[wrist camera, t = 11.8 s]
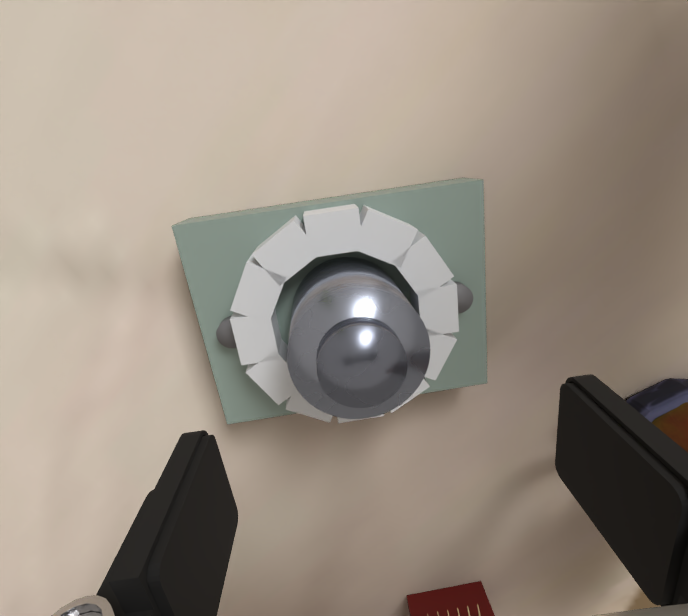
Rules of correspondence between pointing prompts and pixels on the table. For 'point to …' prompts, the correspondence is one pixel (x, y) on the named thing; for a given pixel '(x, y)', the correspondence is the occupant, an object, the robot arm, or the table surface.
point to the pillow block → (322, 245)
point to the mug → (666, 408)
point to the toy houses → (451, 601)
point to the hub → (355, 340)
